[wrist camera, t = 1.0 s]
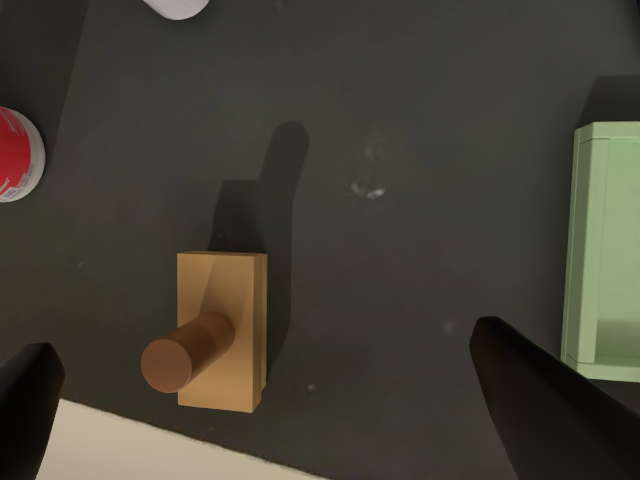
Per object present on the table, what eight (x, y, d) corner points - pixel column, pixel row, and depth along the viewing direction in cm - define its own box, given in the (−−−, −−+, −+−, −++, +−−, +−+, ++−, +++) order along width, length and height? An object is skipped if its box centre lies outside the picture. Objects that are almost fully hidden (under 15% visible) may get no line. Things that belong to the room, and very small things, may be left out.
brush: (269, 388, 26) (213, 468, 18) (203, 382, 27) (120, 456, 19) (271, 250, 25) (214, 269, 17) (203, 248, 26) (117, 264, 18)
